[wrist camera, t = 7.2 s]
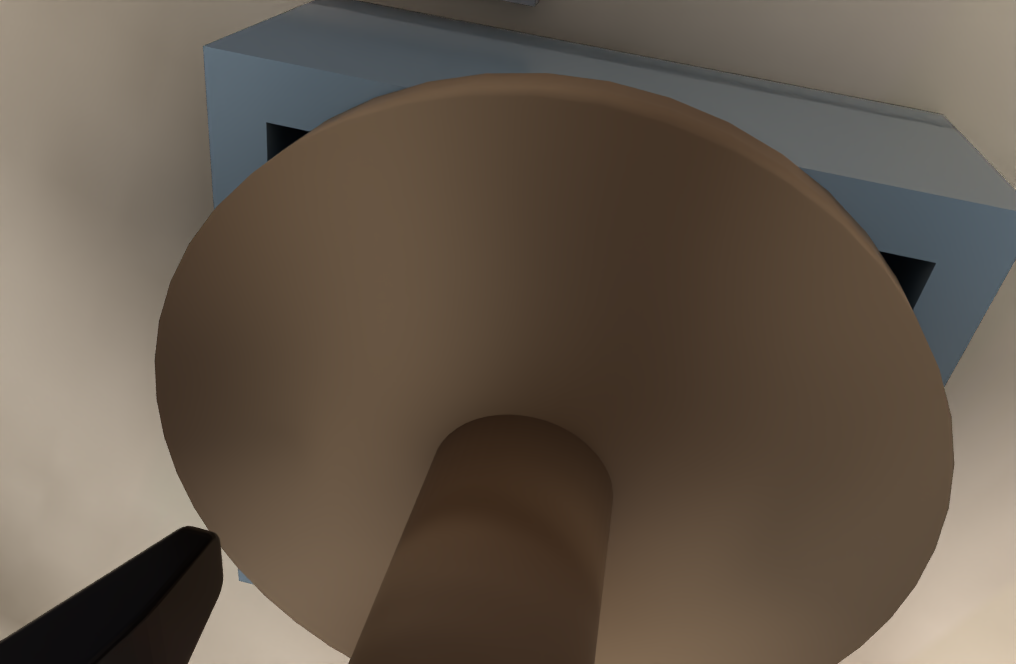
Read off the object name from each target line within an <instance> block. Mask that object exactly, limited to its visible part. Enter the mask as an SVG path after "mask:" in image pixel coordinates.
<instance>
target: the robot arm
mask: <svg viewBox="0 0 1016 664" xmlns="http://www.w3.org/2000/svg"><path fill="white" fill-rule="evenodd" d="M222 584H223V567H222V555H221V543H220V538H219V536H218V535H217V534H216V533H215V532H212V531H208V530H204V529H200V528H196V527H193V526H186V527H182V528H180V529H178V530H176V531H175V532H173V533H171V534H170V535H168V536H167V537H165V538H163V539H162V540H160V541H159V542H157V543H156V544H154V545H152V546H151V547H149V548H148V549H146V550H144V551H143V552H141V553H140V554H138V555H136V556H135V557H133V558H132V559H130V560H129V561H127V562H125V563H124V564H122V565H121V566H119V567H117V568H116V569H114V570H113V571H111V572H109V573H108V574H106V575H105V576H103V577H102V578H100V579H98V580H97V581H95V582H94V583H92V584H90V585H89V586H87V587H86V588H84V589H82V590H81V591H79V592H78V593H76V594H75V595H73V596H71V597H70V598H68V599H67V600H65V601H63V602H62V603H60V604H59V605H57V606H55V607H54V608H52V609H51V610H49V611H47V612H46V613H44V614H43V615H41V616H40V617H38V618H36V619H35V620H33V621H32V622H30V623H28V624H27V625H25V626H24V627H22V628H20V629H19V630H17V631H16V632H14V633H13V634H11V635H9V636H8V637H6V638H5V639H3V640H1V641H0V664H188V662H189V660H190V658H191V656H192V653H193V651H194V649H195V647H196V645H197V643H198V640H199V638H200V636H201V634H202V632H203V630H204V627H205V625H206V623H207V621H208V619H209V617H210V614H211V612H212V610H213V608H214V606H215V604H216V601H217V599H218V597H219V594H220V592H221V588H222Z"/></svg>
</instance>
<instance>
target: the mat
mask: <svg viewBox="0 0 1016 664" xmlns="http://www.w3.org/2000/svg"><path fill="white" fill-rule="evenodd" d="M502 1H508V2H513V3H518V4H523V5H529V6H534V7H535V5H536V4H537V3H538V2H539V0H502Z"/></svg>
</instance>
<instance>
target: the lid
mask: <svg viewBox="0 0 1016 664" xmlns="http://www.w3.org/2000/svg"><path fill="white" fill-rule="evenodd" d="M155 375H156V396H157V403H158V408H159V413H160V418H161V423H162V428H163V433H164V437H165V440H166V443H167V446H168V449H169V452H170V455H171V458H172V460H173V463H174V466H175V469H176V472H177V474H178V476H179V478H180V480H181V482H182V484H183V486H184V488H185V490H186V492H187V494H188V496H189V498H190V500H191V502H192V504H193V506H194V508H195V510H196V511H197V513H198V514H199V516H200V517H201V519H202V520H203V522H204V524H205V525H206V527H207V528H208V530H209V531H212V532H215V533H216V534H217V535H218V536H219V538H220V543H221V548H222V549H223V550H224V551H225V553H226V554H227V555H228V556H229V558H230V559H231V560H232V561H233V563H234V564H235V565H236V566H237V567H238V569H239V570H240V571H241V572H242V573H243V574H244V575H245V576H246V577H247V578H248V579H249V580H250V581H251V582H252V583H253V584H254V585H255V586H256V587H257V588H258V589H259V590H260V591H261V592H262V593H263V594H264V595H265V596H266V597H267V598H268V599H269V600H270V601H272V602H273V603H274V604H275V605H276V606H277V607H279V608H280V609H281V610H282V611H283V612H285V613H286V614H287V615H288V616H289V617H291V618H292V619H293V620H294V621H295V622H296V623H298V624H299V625H301V626H302V627H304V628H305V629H306V630H308V631H309V632H311V633H312V634H313V635H315V636H316V637H318V638H319V639H320V640H322V641H323V642H325V643H326V644H328V645H329V646H331V647H332V648H334V649H336V650H337V651H339V652H341V653H343V654H344V655H346V656H348V657H349V658H351V659H350V661H349V664H837V663H839V662H840V661H842V660H843V659H844V658H846V657H847V656H849V655H850V654H851V653H853V652H854V651H855V650H857V649H858V648H860V647H861V646H862V645H863V644H864V643H865V642H866V641H867V640H868V639H869V638H870V637H872V636H873V635H874V634H875V633H876V632H877V631H878V630H879V629H880V628H881V627H882V626H883V625H884V624H885V623H886V622H887V621H888V620H889V619H890V618H891V617H892V616H893V615H894V613H895V612H896V611H897V609H898V608H899V607H900V605H901V604H902V603H903V602H904V600H905V599H906V598H907V596H908V595H909V594H910V592H911V591H912V590H913V589H914V587H915V586H916V584H917V582H918V580H919V579H920V577H921V575H922V573H923V571H924V569H925V567H926V566H927V564H928V562H929V560H930V558H931V556H932V554H933V552H934V551H935V548H936V545H937V542H938V539H939V536H940V533H941V530H942V527H943V524H944V521H945V518H946V515H947V511H948V508H949V501H950V493H951V485H952V477H953V470H954V452H953V435H952V419H951V413H950V409H949V405H948V401H947V397H946V393H945V389H944V385H943V381H942V377H941V373H940V369H939V367H938V364H937V362H936V360H935V358H934V356H933V353H932V351H931V349H930V347H929V345H928V342H927V340H926V338H925V336H924V333H923V331H922V329H921V327H920V325H919V322H918V320H917V318H916V316H915V314H914V312H913V310H912V308H911V306H910V304H909V302H908V300H907V297H906V295H905V293H904V291H903V289H902V287H901V285H900V283H899V281H898V279H897V277H896V276H895V274H894V273H893V271H892V270H891V268H890V267H889V265H888V264H887V262H886V261H885V259H884V258H883V256H882V255H881V253H880V252H879V250H878V249H877V247H876V246H875V244H874V243H873V241H872V240H871V238H870V237H869V235H868V234H867V232H866V231H865V230H864V229H863V228H862V227H861V226H860V225H859V224H858V223H857V222H856V221H855V219H854V218H853V217H852V216H851V215H850V214H849V213H848V212H847V211H846V210H845V209H844V208H843V206H842V205H841V204H840V203H839V202H838V201H837V200H836V199H835V198H834V197H833V196H832V195H831V193H830V192H829V191H828V190H826V189H825V188H824V187H823V186H821V185H820V184H819V183H818V182H816V181H815V180H814V179H813V178H811V177H810V176H809V175H808V174H806V173H805V172H804V171H803V170H801V169H800V168H799V167H798V166H796V165H795V164H794V163H793V162H792V161H790V160H789V159H788V158H787V157H785V156H784V155H783V154H781V153H780V152H778V151H776V150H775V149H773V148H771V147H770V146H768V145H766V144H765V143H763V142H761V141H759V140H758V139H756V138H754V137H753V136H751V135H749V134H748V133H746V132H744V131H743V130H741V129H739V128H738V127H736V126H734V125H733V124H731V123H729V122H727V121H725V120H722V119H720V118H717V117H715V116H713V115H710V114H708V113H706V112H703V111H701V110H698V109H696V108H694V107H691V106H689V105H687V104H684V103H682V102H679V101H677V100H675V99H672V98H670V97H666V96H662V95H658V94H655V93H651V92H647V91H644V90H640V89H636V88H633V87H629V86H625V85H621V84H618V83H614V82H610V81H604V80H596V79H589V78H581V77H573V76H566V75H558V74H550V73H485V74H478V75H471V76H464V77H457V78H451V79H444V80H437V81H430V82H426V83H422V84H419V85H415V86H412V87H409V88H405V89H402V90H398V91H395V92H392V93H388V94H385V95H381V96H378V97H375V98H373V99H371V100H368V101H366V102H364V103H362V104H360V105H358V106H356V107H353V108H351V109H349V110H347V111H345V112H343V113H341V114H338V115H336V116H334V117H332V118H330V119H328V120H326V121H325V122H323V123H322V124H320V125H319V126H317V127H316V128H314V129H313V130H311V131H310V132H308V133H307V134H305V135H304V136H302V137H301V138H300V139H298V140H297V141H295V142H294V143H292V144H291V145H289V146H288V147H286V148H285V149H284V150H282V151H281V152H280V153H278V154H277V155H276V156H274V157H273V158H272V159H270V160H269V161H268V162H266V163H265V164H264V165H262V166H261V167H260V168H258V169H257V170H256V171H254V172H253V173H252V174H250V175H249V176H248V177H247V178H246V179H245V180H244V181H243V182H242V183H241V184H240V185H239V186H238V187H237V188H236V189H235V190H234V191H233V192H232V193H231V194H229V195H228V196H227V197H226V198H225V199H224V200H223V201H222V202H221V203H220V204H219V205H218V206H217V207H216V208H215V209H214V211H213V212H212V214H211V215H210V216H209V218H208V219H207V220H206V222H205V223H204V224H203V226H202V227H201V228H200V230H199V231H198V232H197V234H196V235H195V237H194V238H193V239H192V241H191V242H190V243H189V245H188V247H187V249H186V251H185V253H184V255H183V257H182V259H181V262H180V264H179V266H178V268H177V270H176V272H175V274H174V276H173V278H172V280H171V282H170V285H169V289H168V292H167V296H166V299H165V303H164V306H163V309H162V313H161V316H160V320H159V327H158V336H157V345H156V354H155Z"/></svg>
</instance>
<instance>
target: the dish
mask: <svg viewBox="0 0 1016 664" xmlns="http://www.w3.org/2000/svg"><path fill="white" fill-rule="evenodd" d="M203 52H204V67H205V82H206V97H207V112H208V127H209V142H210V157H211V172H212V187H213V201H214V209H215V208H216V207H217V206H218V205H219V204H220V203H221V202H222V201H223V200H224V199H225V198H226V197H227V196H228V195H229V194H231V193H232V192H233V191H234V190H235V189H236V188H237V187H238V186H239V185H240V184H241V183H242V182H243V181H244V180H245V179H246V178H247V177H248V176H249V175H250V174H252V173H253V172H254V171H256V170H257V169H258V168H260V167H261V166H262V165H264V164H265V163H266V162H268V161H269V160H270V159H272V158H273V157H274V156H276V155H277V154H278V153H280V152H281V151H282V150H284V149H285V148H286V147H288V146H289V145H291V144H292V143H294V142H295V141H297V140H298V139H300V138H301V137H302V136H304V135H305V134H307V133H308V132H310V131H311V130H313V129H314V128H316V127H317V126H319V125H320V124H322V123H323V122H325V121H326V120H328V119H330V118H332V117H334V116H336V115H338V114H341V113H343V112H345V111H347V110H349V109H351V108H353V107H356V106H358V105H360V104H362V103H364V102H366V101H368V100H371V99H373V98H375V97H378V96H381V95H385V94H388V93H392V92H395V91H398V90H402V89H405V88H409V87H412V86H415V85H419V84H422V83H426V82H430V81H437V80H444V79H451V78H457V77H464V76H471V75H478V74H485V73H550V74H558V75H566V76H573V77H581V78H589V79H596V80H604V81H610V82H614V83H618V84H621V85H625V86H629V87H633V88H636V89H640V90H644V91H647V92H651V93H655V94H658V95H662V96H666V97H670V98H672V99H675V100H677V101H679V102H682V103H684V104H687V105H689V106H691V107H694V108H696V109H698V110H701V111H703V112H706V113H708V114H710V115H713V116H715V117H717V118H720V119H722V120H725V121H727V122H729V123H731V124H733V125H734V126H736V127H738V128H739V129H741V130H743V131H744V132H746V133H748V134H749V135H751V136H753V137H754V138H756V139H758V140H759V141H761V142H763V143H765V144H766V145H768V146H770V147H771V148H773V149H775V150H776V151H778V152H780V153H781V154H783V155H784V156H785V157H787V158H788V159H789V160H790V161H792V162H793V163H794V164H795V165H796V166H798V167H799V168H800V169H801V170H803V171H804V172H805V173H806V174H808V175H809V176H810V177H811V178H813V179H814V180H815V181H816V182H818V183H819V184H820V185H821V186H823V187H824V188H825V189H826V190H828V191H829V192H830V193H831V195H832V196H833V197H834V198H835V199H836V200H837V201H838V202H839V203H840V204H841V205H842V206H843V208H844V209H845V210H846V211H847V212H848V213H849V214H850V215H851V216H852V217H853V218H854V219H855V221H856V222H857V223H858V224H859V225H860V226H861V227H862V228H863V229H864V230H865V231H866V232H867V234H868V235H869V237H870V238H871V240H872V241H873V243H874V244H875V246H876V247H877V249H878V250H879V252H880V253H881V255H882V256H883V258H884V259H885V261H886V262H887V264H888V265H889V267H890V268H891V270H892V271H893V273H894V274H895V276H896V277H897V279H898V281H899V283H900V285H901V287H902V289H903V291H904V293H905V295H906V297H907V300H908V302H909V304H910V306H911V308H912V310H913V312H914V314H915V316H916V318H917V320H918V322H919V325H920V327H921V329H922V331H923V333H924V336H925V338H926V340H927V342H928V345H929V347H930V349H931V351H932V353H933V356H934V358H935V360H936V362H937V364H938V367H939V369H940V373H941V377H942V381H943V385H944V387H945V385H946V383H947V381H948V379H949V378H950V376H951V374H952V372H953V371H954V369H955V367H956V365H957V363H958V362H959V360H960V358H961V356H962V354H963V353H964V351H965V349H966V347H967V345H968V344H969V342H970V340H971V338H972V337H973V335H974V333H975V331H976V329H977V328H978V326H979V324H980V322H981V320H982V319H983V317H984V315H985V313H986V311H987V310H988V308H989V306H990V304H991V303H992V301H993V299H994V297H995V295H996V294H997V292H998V290H999V288H1000V286H1001V285H1002V283H1003V281H1004V279H1005V277H1006V276H1007V274H1008V272H1009V270H1010V269H1011V267H1012V265H1013V263H1014V261H1015V260H1016V190H1015V189H1014V188H1013V187H1012V186H1011V185H1010V184H1009V183H1008V182H1007V181H1006V180H1005V179H1004V178H1003V177H1002V176H1001V175H1000V174H999V172H998V171H997V170H996V169H995V168H994V167H993V166H992V165H991V164H990V163H989V162H988V161H987V160H986V159H985V158H984V157H983V156H982V155H981V154H980V153H979V152H978V151H977V149H976V148H975V147H974V146H973V145H972V144H971V143H970V142H969V141H968V140H967V139H966V138H965V137H964V136H963V135H962V134H961V133H960V132H959V131H958V130H957V129H956V128H955V126H954V125H953V124H952V123H951V122H950V121H949V120H948V119H947V118H946V117H945V116H944V115H943V114H938V113H933V112H928V111H922V110H917V109H912V108H907V107H902V106H897V105H892V104H886V103H881V102H876V101H871V100H866V99H861V98H856V97H850V96H845V95H840V94H835V93H830V92H825V91H819V90H814V89H809V88H804V87H799V86H794V85H789V84H783V83H778V82H773V81H768V80H763V79H758V78H753V77H747V76H742V75H737V74H732V73H727V72H722V71H717V70H711V69H706V68H701V67H696V66H691V65H686V64H680V63H675V62H670V61H665V60H660V59H655V58H650V57H644V56H639V55H634V54H629V53H624V52H619V51H614V50H608V49H603V48H598V47H593V46H588V45H583V44H577V43H572V42H567V41H562V40H557V39H552V38H547V37H541V36H536V35H531V34H526V33H521V32H516V31H511V30H505V29H500V28H495V27H490V26H485V25H480V24H475V23H469V22H464V21H459V20H454V19H449V18H444V17H438V16H433V15H428V14H423V13H418V12H413V11H408V10H402V9H397V8H392V7H387V6H382V5H377V4H372V3H366V2H361V1H356V0H314V1H311V2H309V3H306V4H304V5H302V6H299V7H297V8H294V9H292V10H289V11H287V12H285V13H282V14H280V15H277V16H275V17H272V18H270V19H268V20H265V21H263V22H260V23H258V24H255V25H253V26H251V27H248V28H246V29H243V30H241V31H238V32H236V33H234V34H231V35H229V36H226V37H224V38H222V39H219V40H217V41H214V42H212V43H209V44H207V45H205V46H203ZM238 574H239V581H242V582H246V583H250V584H253V583H252V582H251V581H250V580H249V579H248V578H247V577H246V576H245V575H244V574H243V573H242V572H241V571H240V570H239V569H238Z"/></svg>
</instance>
